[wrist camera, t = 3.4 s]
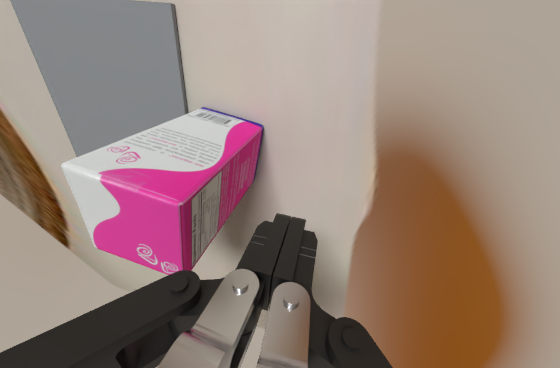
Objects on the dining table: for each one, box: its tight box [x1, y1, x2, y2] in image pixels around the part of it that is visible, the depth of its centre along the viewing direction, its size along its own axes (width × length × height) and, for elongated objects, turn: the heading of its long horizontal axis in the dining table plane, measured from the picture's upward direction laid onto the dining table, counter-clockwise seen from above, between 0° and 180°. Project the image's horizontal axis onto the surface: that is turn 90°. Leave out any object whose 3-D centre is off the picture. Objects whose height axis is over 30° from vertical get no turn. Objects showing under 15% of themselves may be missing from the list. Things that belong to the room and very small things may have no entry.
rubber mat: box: [10, 0, 188, 157], centre depth 22 cm, size 15×20×1 cm
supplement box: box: [61, 107, 263, 275], centre depth 15 cm, size 6×6×12 cm
